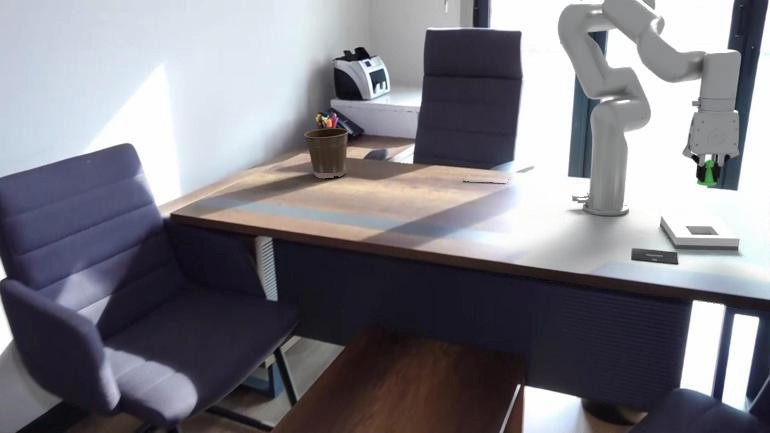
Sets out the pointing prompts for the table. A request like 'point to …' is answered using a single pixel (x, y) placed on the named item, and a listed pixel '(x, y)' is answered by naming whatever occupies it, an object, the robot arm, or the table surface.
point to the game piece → (708, 174)
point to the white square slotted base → (699, 232)
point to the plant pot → (327, 149)
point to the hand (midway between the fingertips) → (707, 180)
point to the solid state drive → (654, 256)
